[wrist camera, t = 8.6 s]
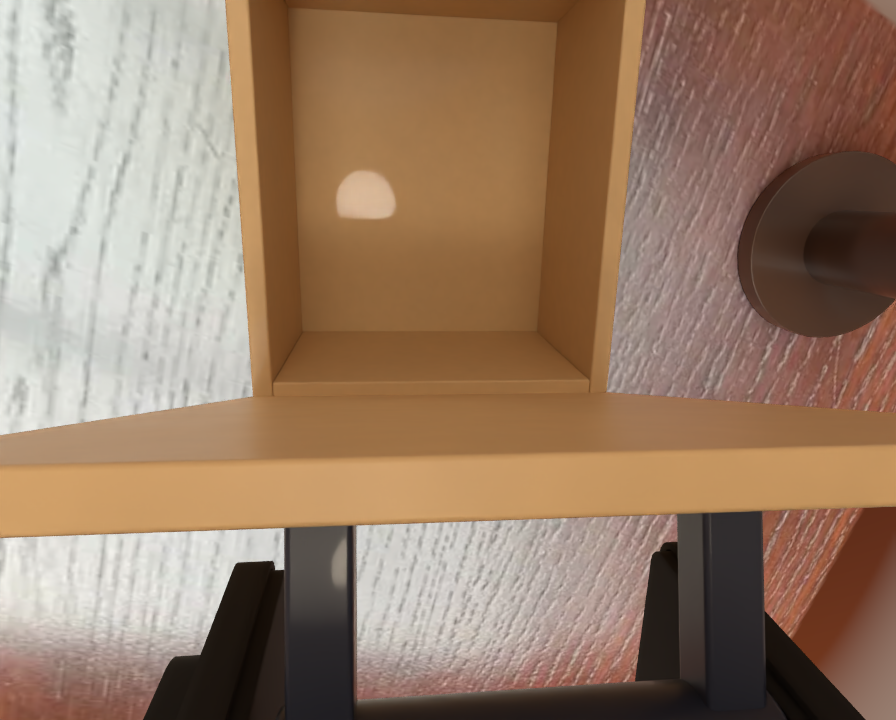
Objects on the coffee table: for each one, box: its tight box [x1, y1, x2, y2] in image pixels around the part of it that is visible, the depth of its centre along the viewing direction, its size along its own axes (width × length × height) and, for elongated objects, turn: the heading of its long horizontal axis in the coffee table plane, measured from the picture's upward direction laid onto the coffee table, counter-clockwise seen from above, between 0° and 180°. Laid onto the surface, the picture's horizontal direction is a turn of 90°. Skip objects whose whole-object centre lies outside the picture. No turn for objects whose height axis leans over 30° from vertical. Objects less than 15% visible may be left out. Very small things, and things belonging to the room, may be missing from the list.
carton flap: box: [0, 392, 896, 720], centre depth 11 cm, size 14×11×5 cm
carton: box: [225, 0, 646, 397], centre depth 20 cm, size 13×11×8 cm
